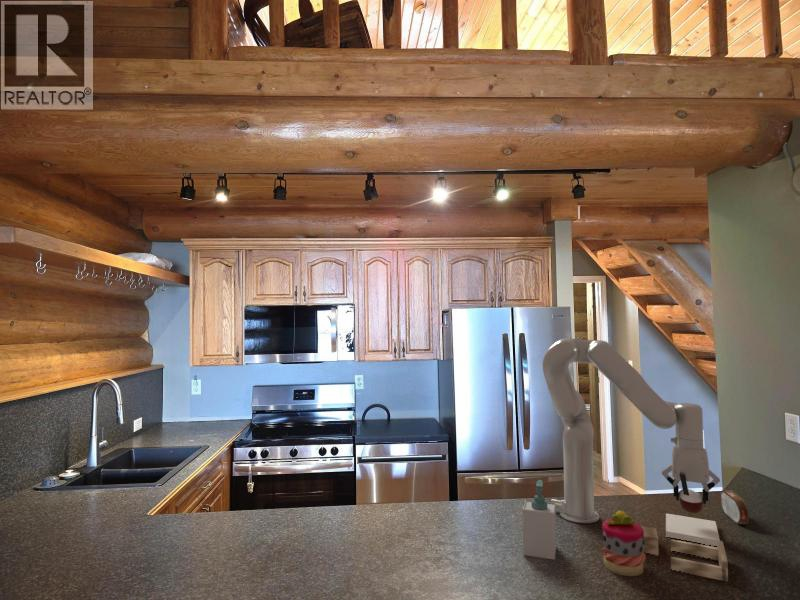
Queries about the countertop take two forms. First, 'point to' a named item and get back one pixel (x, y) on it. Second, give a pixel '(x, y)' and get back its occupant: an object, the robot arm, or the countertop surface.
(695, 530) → the cutting board
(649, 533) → the offcut upper
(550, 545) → the soap bottle
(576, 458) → the robot arm
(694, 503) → the cocoa
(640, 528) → the cake
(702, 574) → the frame
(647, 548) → the offcut lower
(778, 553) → the countertop surface
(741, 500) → the tin
